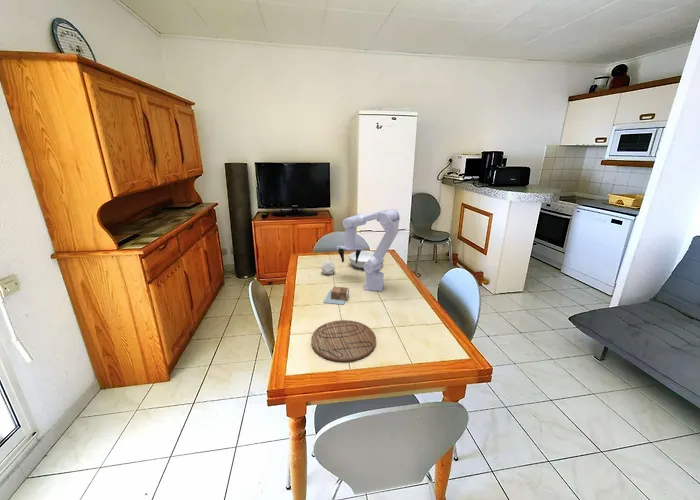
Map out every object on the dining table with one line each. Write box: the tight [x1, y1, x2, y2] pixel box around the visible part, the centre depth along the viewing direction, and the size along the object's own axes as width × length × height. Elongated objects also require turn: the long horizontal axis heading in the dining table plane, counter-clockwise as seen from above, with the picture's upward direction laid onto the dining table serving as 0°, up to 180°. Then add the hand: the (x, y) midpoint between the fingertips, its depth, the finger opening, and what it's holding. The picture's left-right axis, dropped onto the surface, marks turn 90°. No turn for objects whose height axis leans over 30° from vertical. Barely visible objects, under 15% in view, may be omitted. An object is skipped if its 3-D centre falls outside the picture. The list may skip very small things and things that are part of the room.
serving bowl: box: [348, 250, 375, 269], centre depth 192 cm, size 21×21×7 cm
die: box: [320, 260, 336, 276], centre depth 179 cm, size 8×9×10 cm
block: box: [331, 286, 350, 301], centre depth 150 cm, size 4×6×8 cm
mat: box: [323, 289, 347, 306], centre depth 151 cm, size 10×14×1 cm
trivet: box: [310, 319, 377, 363], centre depth 117 cm, size 25×25×2 cm
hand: (349, 262), depth 169 cm, fingers open, 7 cm apart
